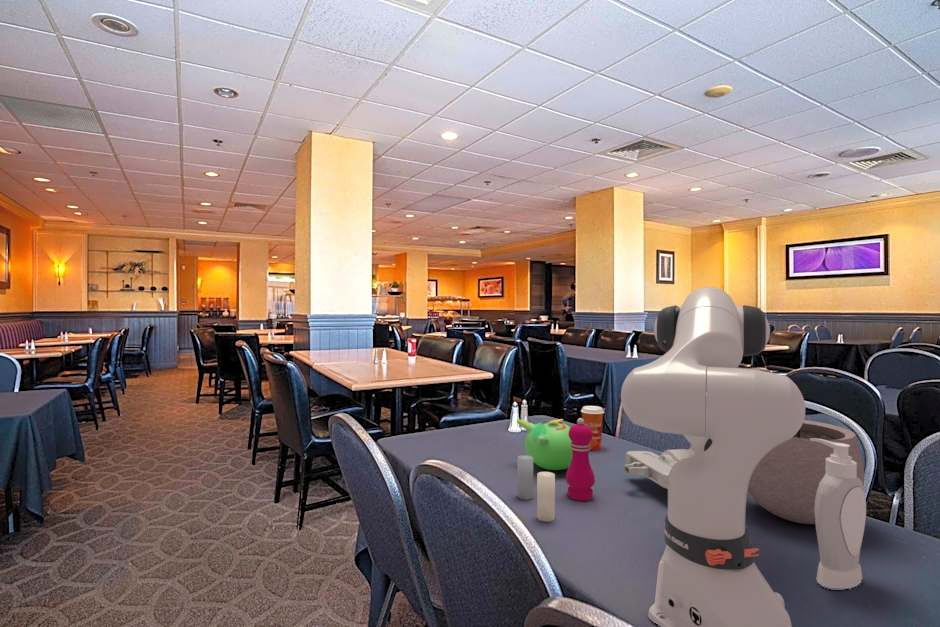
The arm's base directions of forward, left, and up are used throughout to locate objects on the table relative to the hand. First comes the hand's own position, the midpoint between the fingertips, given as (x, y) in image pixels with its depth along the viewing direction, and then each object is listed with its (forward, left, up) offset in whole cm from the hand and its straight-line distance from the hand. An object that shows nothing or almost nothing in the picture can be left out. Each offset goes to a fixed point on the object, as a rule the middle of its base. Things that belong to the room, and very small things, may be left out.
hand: (626, 469), depth 128 cm
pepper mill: (0, +13, -6) cm, 14 cm away
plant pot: (-21, -31, -6) cm, 38 cm away
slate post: (+2, +27, -6) cm, 28 cm away
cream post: (-11, +26, -6) cm, 29 cm away
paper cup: (+39, -8, -6) cm, 40 cm away
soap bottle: (-44, -16, -6) cm, 47 cm away
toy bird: (+22, +13, -6) cm, 26 cm away
